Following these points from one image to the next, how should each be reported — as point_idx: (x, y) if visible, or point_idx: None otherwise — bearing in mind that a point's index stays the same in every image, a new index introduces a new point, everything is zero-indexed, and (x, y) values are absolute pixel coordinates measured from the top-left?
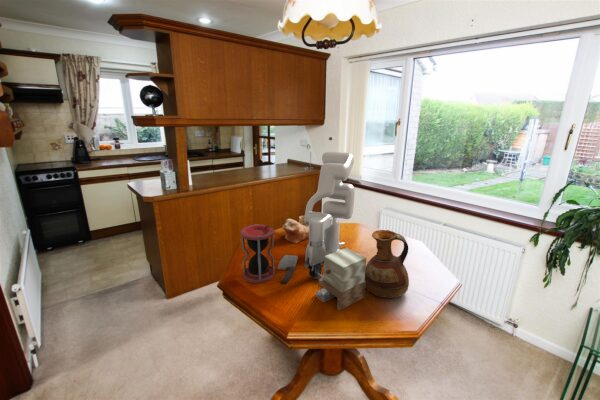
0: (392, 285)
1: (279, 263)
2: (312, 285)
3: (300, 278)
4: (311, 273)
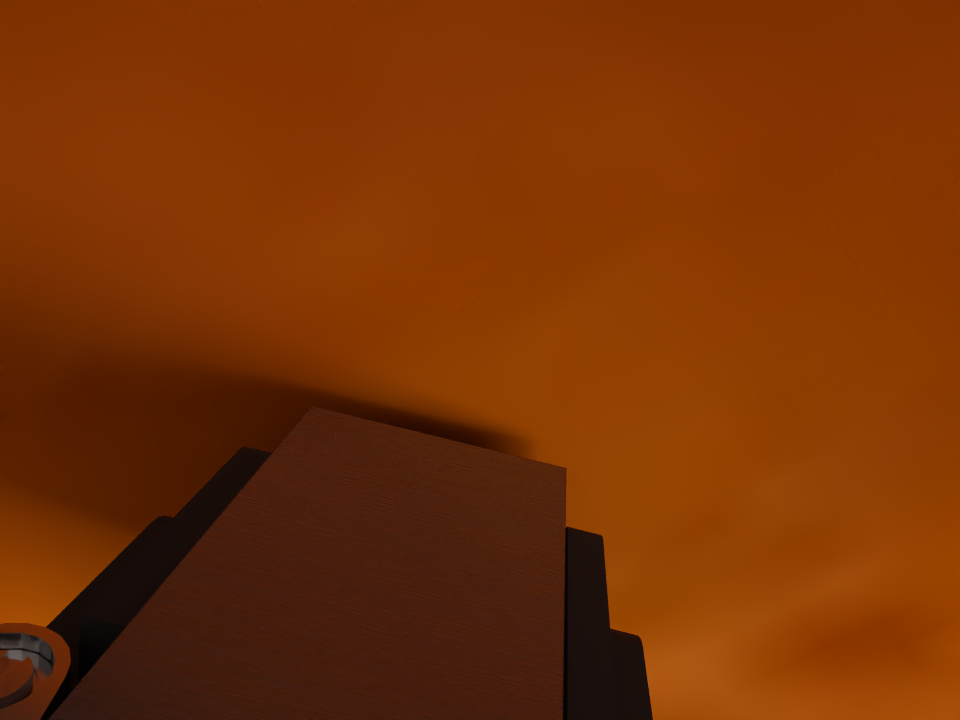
0: None
1: None
2: None
3: (49, 226)
4: None
